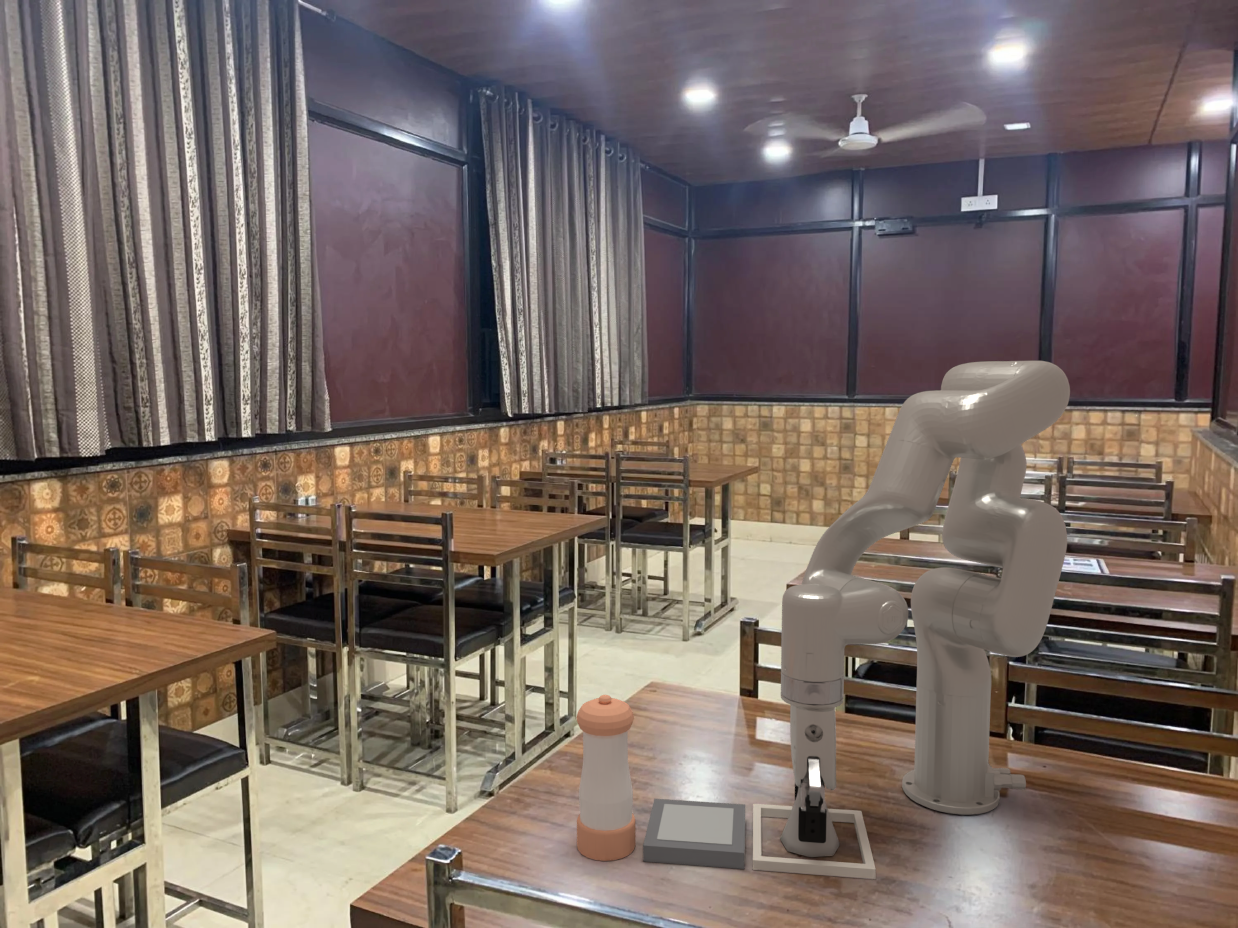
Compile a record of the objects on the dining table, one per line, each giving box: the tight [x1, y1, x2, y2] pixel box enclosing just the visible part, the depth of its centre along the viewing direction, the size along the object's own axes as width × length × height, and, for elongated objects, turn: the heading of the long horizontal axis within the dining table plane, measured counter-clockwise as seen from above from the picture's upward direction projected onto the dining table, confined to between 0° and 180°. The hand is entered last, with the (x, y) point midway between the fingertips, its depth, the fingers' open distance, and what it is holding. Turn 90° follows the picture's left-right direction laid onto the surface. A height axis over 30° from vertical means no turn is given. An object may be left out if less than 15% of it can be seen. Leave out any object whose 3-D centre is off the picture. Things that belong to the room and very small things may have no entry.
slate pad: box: [642, 798, 746, 870], centre depth 111 cm, size 12×12×2 cm
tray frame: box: [752, 803, 877, 880], centre depth 109 cm, size 14×14×1 cm
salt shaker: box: [576, 694, 637, 862], centre depth 108 cm, size 7×7×19 cm
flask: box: [779, 761, 841, 858], centre depth 109 cm, size 7×7×10 cm
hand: (809, 820), depth 109 cm, fingers open, 9 cm apart
